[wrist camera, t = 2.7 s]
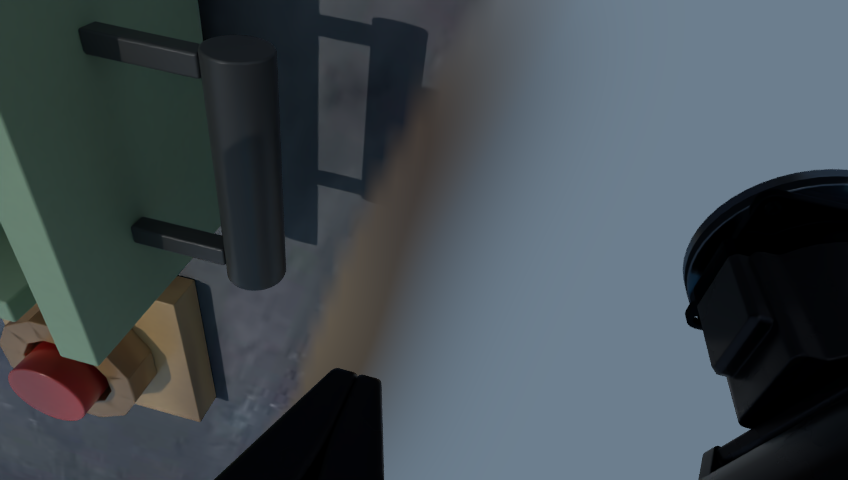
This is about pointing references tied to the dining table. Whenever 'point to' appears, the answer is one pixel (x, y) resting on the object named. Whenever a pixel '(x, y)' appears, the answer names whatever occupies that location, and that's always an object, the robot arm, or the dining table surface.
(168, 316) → the control block
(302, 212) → the dining table surface
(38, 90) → the drawer
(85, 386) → the red button
